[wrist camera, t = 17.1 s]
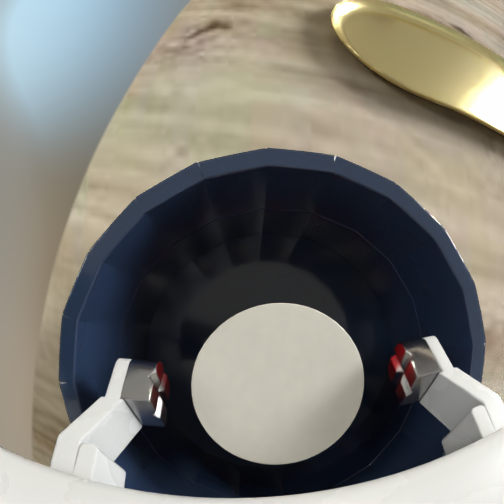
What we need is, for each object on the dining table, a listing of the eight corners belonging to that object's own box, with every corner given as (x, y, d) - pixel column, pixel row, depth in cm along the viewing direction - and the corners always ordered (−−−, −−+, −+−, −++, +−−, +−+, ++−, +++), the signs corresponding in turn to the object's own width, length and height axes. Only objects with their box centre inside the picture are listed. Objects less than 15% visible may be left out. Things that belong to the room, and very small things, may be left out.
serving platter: (328, -5, 27) (330, -14, 25) (528, 84, 25) (532, 79, 24) (326, 77, 23) (329, 65, 21) (564, 183, 21) (571, 178, 20)
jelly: (231, 412, 16) (214, 476, 8) (209, 321, 18) (173, 322, 10) (325, 391, 17) (374, 438, 9) (305, 300, 18) (344, 284, 10)
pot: (177, 487, 15) (138, 564, 7) (120, 256, 19) (41, 209, 10) (410, 428, 16) (488, 471, 7) (358, 203, 20) (417, 129, 11)
